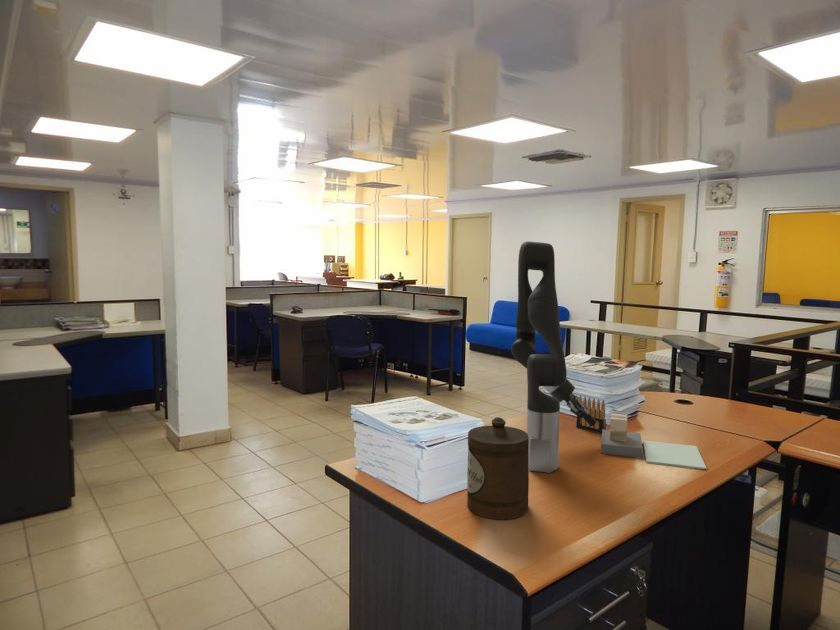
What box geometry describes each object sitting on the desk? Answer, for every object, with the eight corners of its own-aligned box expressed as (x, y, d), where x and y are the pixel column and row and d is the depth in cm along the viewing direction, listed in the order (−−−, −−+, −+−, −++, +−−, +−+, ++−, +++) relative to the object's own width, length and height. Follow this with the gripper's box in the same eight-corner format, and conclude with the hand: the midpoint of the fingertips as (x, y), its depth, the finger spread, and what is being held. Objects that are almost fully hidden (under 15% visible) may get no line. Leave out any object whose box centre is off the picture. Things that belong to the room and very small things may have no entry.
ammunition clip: (576, 427, 195) (576, 395, 194) (578, 426, 196) (579, 394, 195) (603, 434, 187) (604, 400, 186) (605, 432, 188) (607, 399, 187)
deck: (642, 457, 164) (642, 448, 163) (600, 453, 168) (601, 443, 167) (639, 441, 179) (640, 433, 178) (602, 437, 183) (602, 429, 182)
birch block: (626, 441, 170) (627, 420, 169) (609, 439, 171) (610, 418, 171) (626, 436, 175) (626, 415, 175) (609, 434, 177) (610, 413, 176)
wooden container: (467, 492, 139) (468, 409, 137) (525, 494, 137) (527, 411, 135) (466, 518, 124) (467, 426, 122) (531, 522, 122) (533, 428, 120)
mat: (706, 469, 154) (706, 467, 154) (646, 462, 160) (646, 460, 159) (696, 447, 173) (696, 446, 173) (643, 442, 178) (643, 440, 178)
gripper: (563, 381, 171) (602, 423, 168) (567, 373, 184) (603, 411, 181) (546, 396, 173) (584, 437, 171) (550, 387, 186) (586, 425, 183)
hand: (594, 424), depth 176 cm, fingers closed
